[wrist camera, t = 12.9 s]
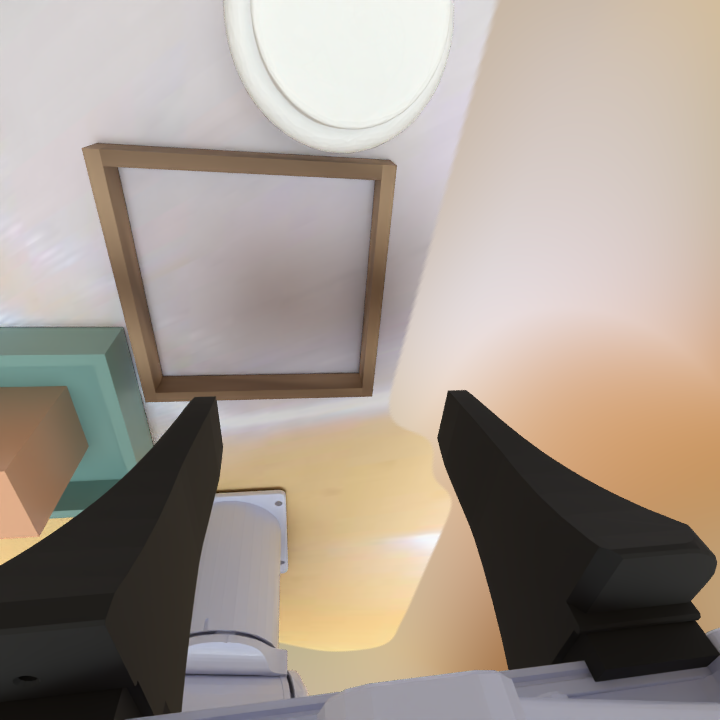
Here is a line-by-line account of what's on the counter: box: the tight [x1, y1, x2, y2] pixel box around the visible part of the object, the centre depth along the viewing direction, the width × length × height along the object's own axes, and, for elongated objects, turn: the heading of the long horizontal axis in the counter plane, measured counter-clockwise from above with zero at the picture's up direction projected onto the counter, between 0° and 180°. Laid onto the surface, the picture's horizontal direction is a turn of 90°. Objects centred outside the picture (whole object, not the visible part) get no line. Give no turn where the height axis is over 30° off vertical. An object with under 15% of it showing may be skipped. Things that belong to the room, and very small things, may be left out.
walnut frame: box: [82, 143, 397, 402], centre depth 21 cm, size 12×12×2 cm
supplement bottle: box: [223, 0, 454, 153], centre depth 13 cm, size 6×6×10 cm
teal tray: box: [0, 327, 153, 519], centre depth 23 cm, size 11×11×3 cm
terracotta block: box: [0, 386, 89, 539], centre depth 21 cm, size 4×4×6 cm
